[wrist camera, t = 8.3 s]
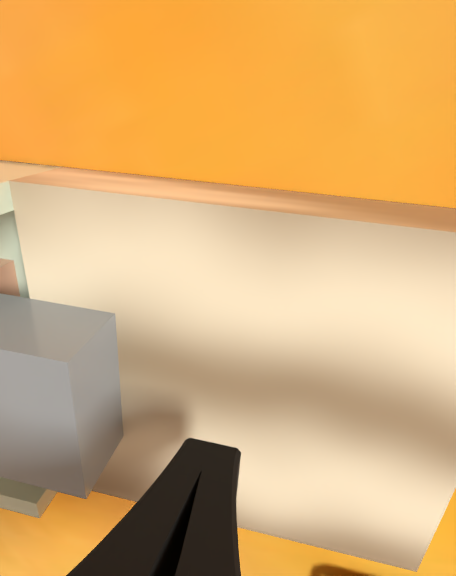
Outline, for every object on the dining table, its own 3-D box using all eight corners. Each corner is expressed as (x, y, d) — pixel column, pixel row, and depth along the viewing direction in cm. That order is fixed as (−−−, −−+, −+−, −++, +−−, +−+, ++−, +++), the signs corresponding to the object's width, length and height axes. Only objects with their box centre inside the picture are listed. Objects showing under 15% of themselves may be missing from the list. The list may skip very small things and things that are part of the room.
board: (403, 506, 16) (416, 571, 14) (94, 436, 18) (63, 483, 16) (517, 215, 11) (567, 245, 8) (62, 166, 13) (8, 180, 11)
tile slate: (123, 436, 14) (86, 499, 12) (-2, 407, 15) (-59, 461, 13) (115, 313, 12) (67, 362, 10) (-32, 287, 13) (-107, 327, 10)
